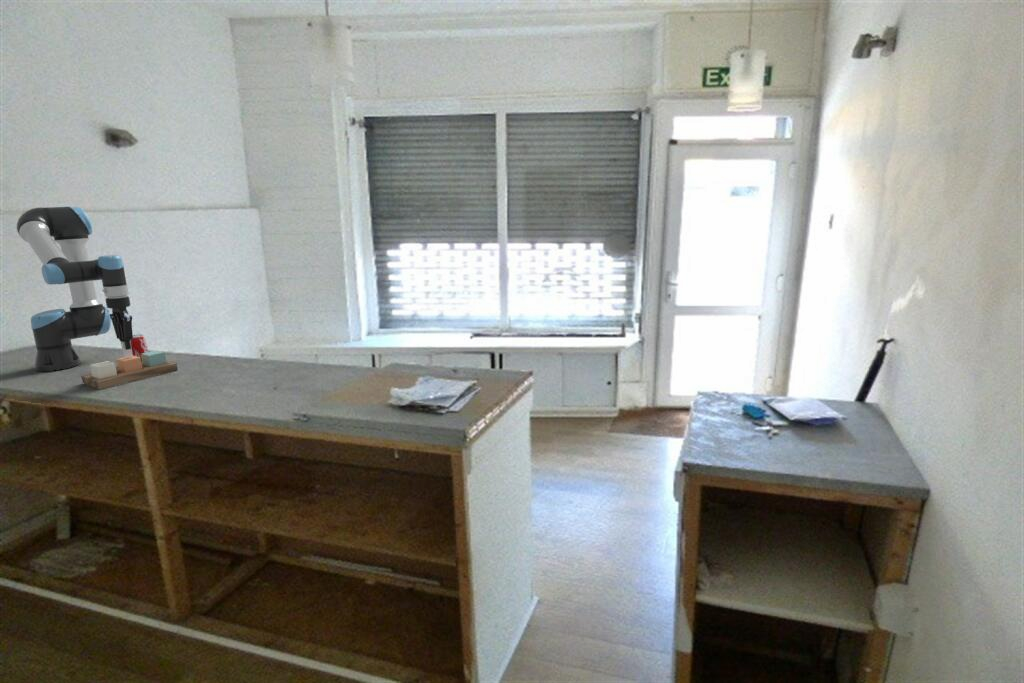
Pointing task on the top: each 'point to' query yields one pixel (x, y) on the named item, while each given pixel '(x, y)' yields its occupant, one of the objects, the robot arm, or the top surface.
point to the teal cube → (153, 358)
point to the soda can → (138, 345)
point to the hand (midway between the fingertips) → (128, 357)
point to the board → (129, 375)
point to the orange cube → (129, 364)
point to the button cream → (103, 369)
